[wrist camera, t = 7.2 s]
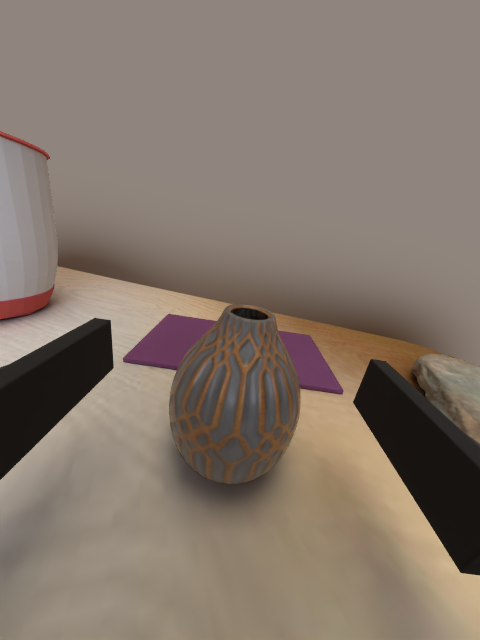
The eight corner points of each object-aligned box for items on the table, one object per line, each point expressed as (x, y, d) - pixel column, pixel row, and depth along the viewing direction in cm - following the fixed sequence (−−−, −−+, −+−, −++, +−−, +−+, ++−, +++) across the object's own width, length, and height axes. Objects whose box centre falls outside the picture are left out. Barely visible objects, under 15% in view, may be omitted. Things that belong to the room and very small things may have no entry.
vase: (256, 548, 9) (310, 372, 6) (138, 462, 12) (136, 307, 9) (295, 434, 15) (332, 314, 12) (211, 393, 18) (224, 285, 15)
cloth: (309, 337, 32) (309, 335, 31) (342, 394, 20) (343, 390, 20) (168, 316, 31) (168, 313, 31) (123, 361, 20) (122, 357, 20)
